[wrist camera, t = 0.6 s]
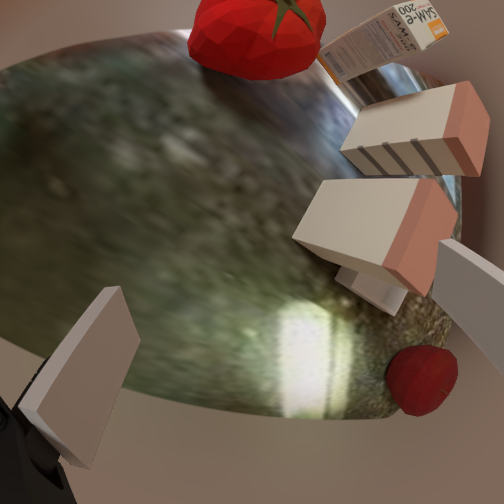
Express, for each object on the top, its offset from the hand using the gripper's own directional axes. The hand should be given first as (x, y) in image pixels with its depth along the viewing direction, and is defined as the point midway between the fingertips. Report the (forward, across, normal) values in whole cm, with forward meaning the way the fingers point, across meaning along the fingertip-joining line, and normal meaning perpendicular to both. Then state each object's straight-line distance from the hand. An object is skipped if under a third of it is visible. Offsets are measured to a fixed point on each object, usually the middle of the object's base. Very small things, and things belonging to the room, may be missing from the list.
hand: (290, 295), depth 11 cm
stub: (+20, +6, -3) cm, 21 cm away
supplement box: (+24, +12, +15) cm, 31 cm away
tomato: (+20, 0, +16) cm, 25 cm away
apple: (+21, +18, -28) cm, 40 cm away
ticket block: (+23, +13, +5) cm, 27 cm away
